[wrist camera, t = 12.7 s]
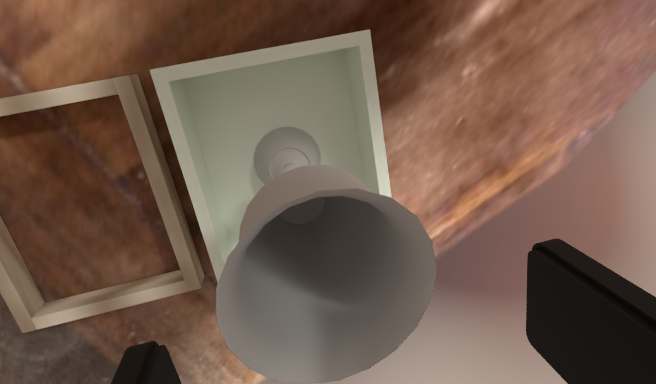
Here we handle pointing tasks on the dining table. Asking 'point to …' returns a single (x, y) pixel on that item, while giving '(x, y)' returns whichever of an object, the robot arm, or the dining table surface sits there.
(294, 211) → the chalice
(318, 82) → the sage bin
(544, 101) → the dining table surface
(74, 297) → the ash frame
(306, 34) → the dining table surface
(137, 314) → the dining table surface
